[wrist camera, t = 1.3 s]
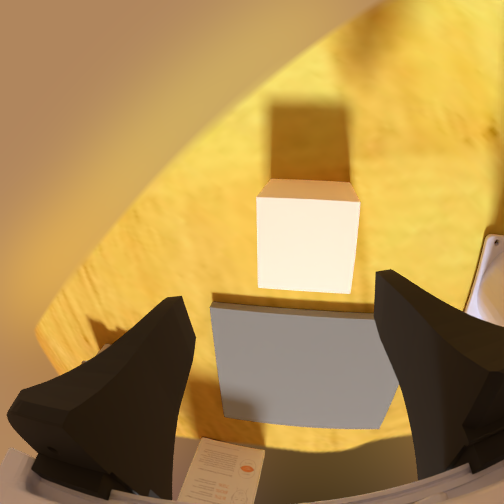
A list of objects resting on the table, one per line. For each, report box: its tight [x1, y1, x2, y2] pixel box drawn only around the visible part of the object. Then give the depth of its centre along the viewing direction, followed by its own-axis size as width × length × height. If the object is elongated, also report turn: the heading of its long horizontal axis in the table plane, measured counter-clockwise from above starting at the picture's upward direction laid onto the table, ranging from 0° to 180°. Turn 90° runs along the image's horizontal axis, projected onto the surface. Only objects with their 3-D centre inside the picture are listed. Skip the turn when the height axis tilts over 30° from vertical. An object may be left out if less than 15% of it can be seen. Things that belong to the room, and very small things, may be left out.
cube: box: [256, 179, 360, 294], centre depth 18 cm, size 5×5×5 cm
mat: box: [210, 302, 399, 429], centre depth 25 cm, size 16×14×1 cm
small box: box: [177, 437, 265, 504], centre depth 28 cm, size 8×6×13 cm
